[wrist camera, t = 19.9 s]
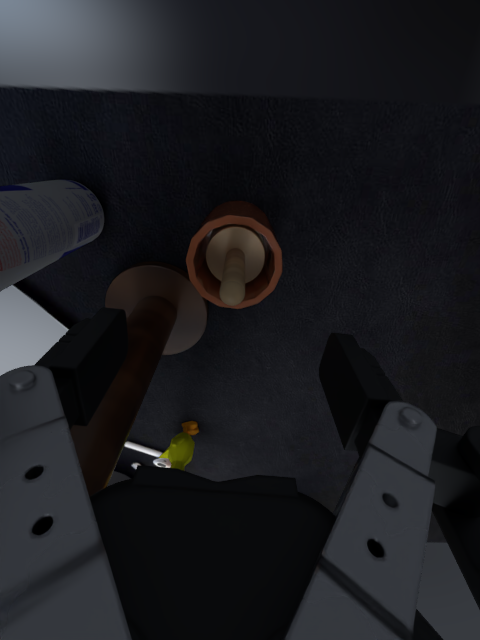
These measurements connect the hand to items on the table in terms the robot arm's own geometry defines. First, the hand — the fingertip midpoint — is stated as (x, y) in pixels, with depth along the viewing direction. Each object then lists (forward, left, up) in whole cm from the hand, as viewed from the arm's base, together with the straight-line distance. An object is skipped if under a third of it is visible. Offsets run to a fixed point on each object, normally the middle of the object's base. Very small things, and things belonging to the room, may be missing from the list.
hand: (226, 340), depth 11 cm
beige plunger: (0, 0, -16) cm, 16 cm away
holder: (0, 0, -17) cm, 17 cm away
